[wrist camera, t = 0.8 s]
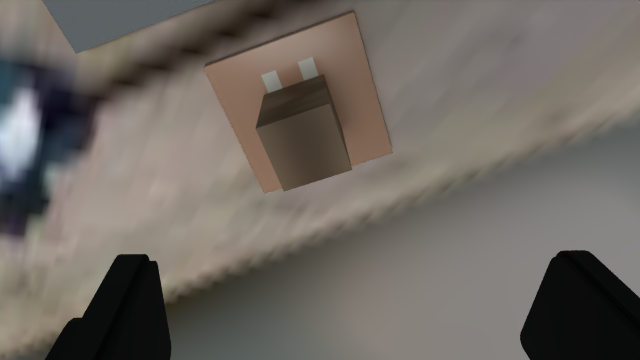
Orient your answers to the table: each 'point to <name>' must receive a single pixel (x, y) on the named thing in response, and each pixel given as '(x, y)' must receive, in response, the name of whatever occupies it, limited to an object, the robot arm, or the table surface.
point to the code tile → (296, 66)
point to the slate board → (110, 17)
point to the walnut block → (302, 133)
